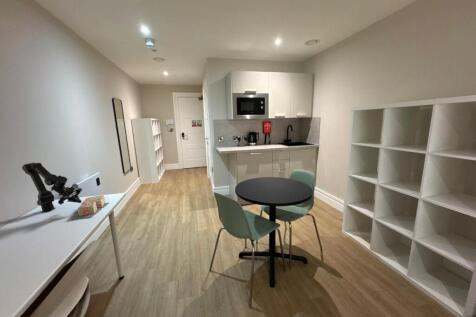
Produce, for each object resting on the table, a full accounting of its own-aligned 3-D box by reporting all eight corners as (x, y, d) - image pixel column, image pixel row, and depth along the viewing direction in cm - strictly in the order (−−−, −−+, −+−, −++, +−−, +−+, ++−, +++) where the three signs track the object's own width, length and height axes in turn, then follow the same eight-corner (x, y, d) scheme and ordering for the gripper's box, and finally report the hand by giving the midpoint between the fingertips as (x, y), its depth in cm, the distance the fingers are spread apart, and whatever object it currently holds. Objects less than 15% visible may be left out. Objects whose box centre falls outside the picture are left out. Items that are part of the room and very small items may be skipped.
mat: (71, 219, 140) (71, 219, 140) (92, 204, 163) (92, 204, 163) (90, 217, 141) (90, 217, 141) (109, 203, 164) (109, 202, 164)
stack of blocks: (79, 216, 143) (99, 212, 147) (77, 208, 141) (97, 204, 146) (87, 205, 162) (105, 201, 167) (86, 197, 161) (103, 194, 165)
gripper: (58, 186, 137) (78, 199, 140) (77, 178, 155) (95, 190, 158) (49, 198, 138) (69, 211, 141) (68, 188, 156) (86, 200, 159)
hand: (81, 202), depth 150 cm, fingers closed
